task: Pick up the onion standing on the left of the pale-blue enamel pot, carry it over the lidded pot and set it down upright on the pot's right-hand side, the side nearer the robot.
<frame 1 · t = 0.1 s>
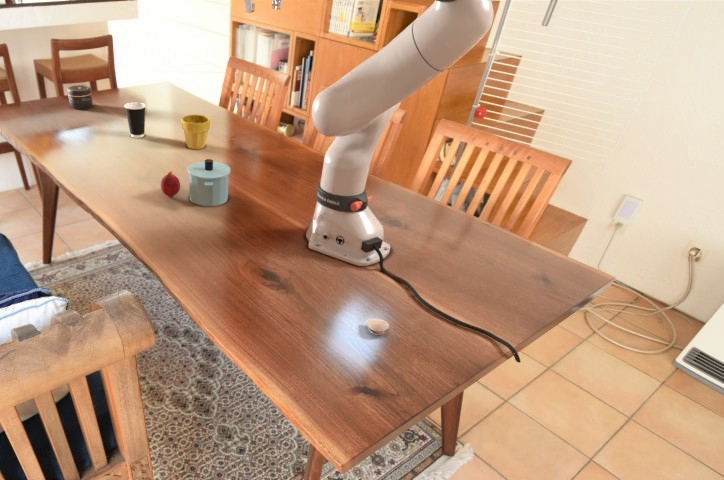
hand: (263, 10, 117), 48 cm above the table, tool pointing down, fingers open, 8 cm apart
flower pot: (196, 146, 182), on the table
macaroon: (374, 330, 102), on the table
pot: (208, 197, 149), on the table
pot lid: (208, 170, 143), point 8 cm above the table, touching pot
dixie cup: (137, 136, 189), on the table
onion: (171, 197, 148), on the table
jar: (81, 107, 215), on the table
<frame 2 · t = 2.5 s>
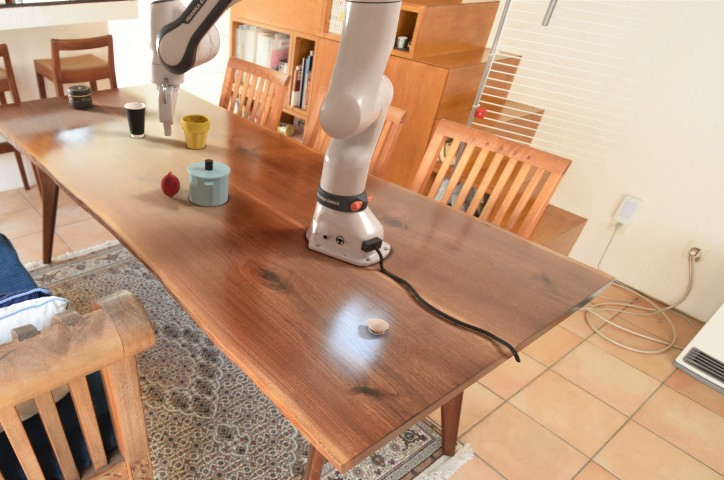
hand: (169, 129, 135), 20 cm above the table, tool pointing down, fingers open, 8 cm apart
nothing on the table moved.
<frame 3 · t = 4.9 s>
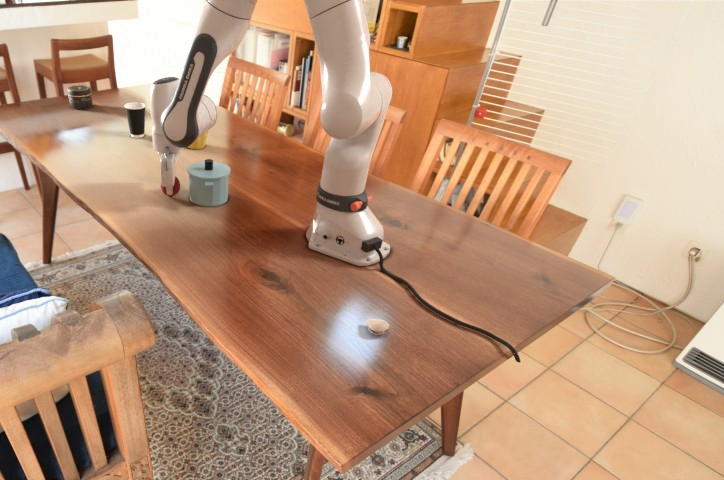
hand: (170, 188, 146), 3 cm above the table, tool pointing down, fingers closed on onion, 6 cm apart
onion: (171, 198, 148), on the table, touching gripper
everything else where it was.
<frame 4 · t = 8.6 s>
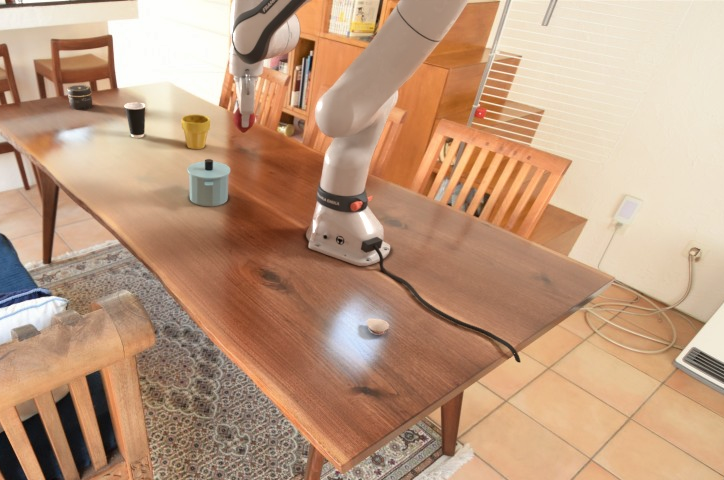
hand: (244, 122, 134), 22 cm above the table, tool pointing down, fingers closed on onion, 6 cm apart
onion: (243, 133, 136), point 19 cm above the table, touching gripper
everything else where it was.
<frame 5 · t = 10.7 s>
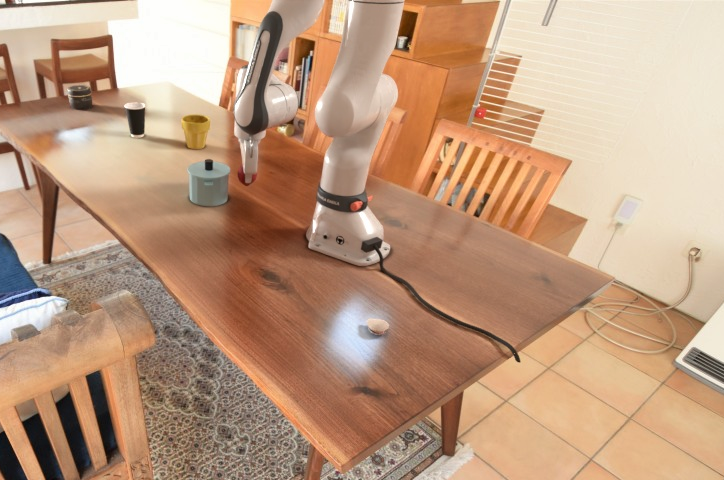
hand: (247, 177, 145), 7 cm above the table, tool pointing down, fingers closed on onion, 6 cm apart
onion: (246, 186, 146), point 4 cm above the table, touching gripper
everything else where it was.
when the fingers open (2 cm above the table, at t = 12.4 s): onion stays where it is, on the table.
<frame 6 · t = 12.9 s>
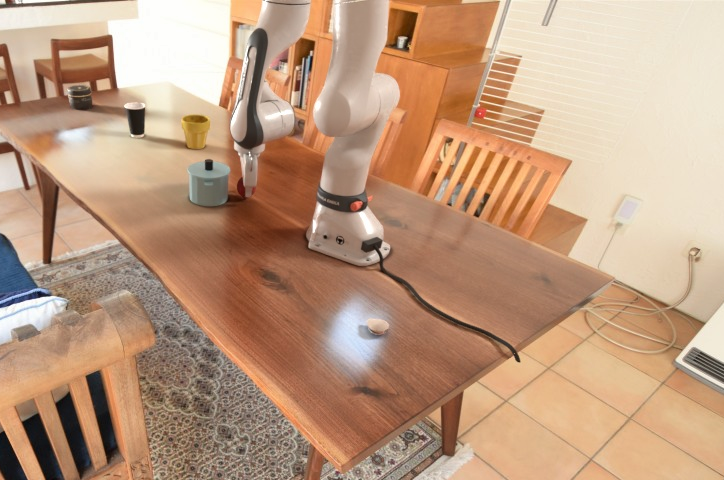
hand: (247, 189, 147), 3 cm above the table, tool pointing down, fingers open, 8 cm apart
onion: (245, 199, 149), on the table
everything else where it was.
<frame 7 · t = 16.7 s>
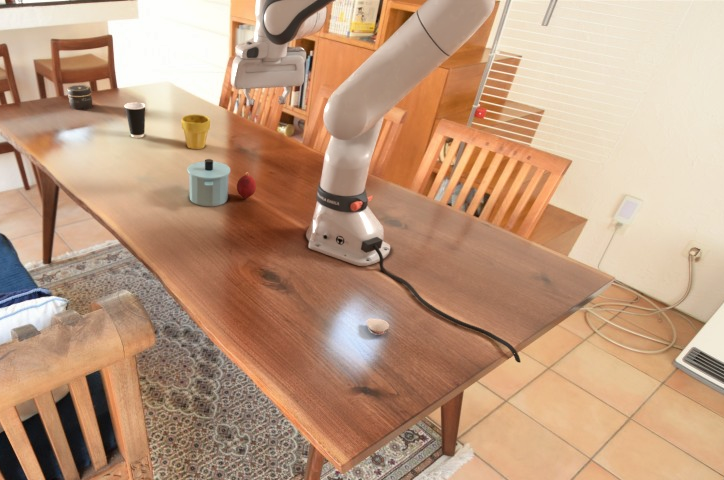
hand: (266, 104, 136), 26 cm above the table, tool pointing down, fingers open, 8 cm apart
nothing on the table moved.
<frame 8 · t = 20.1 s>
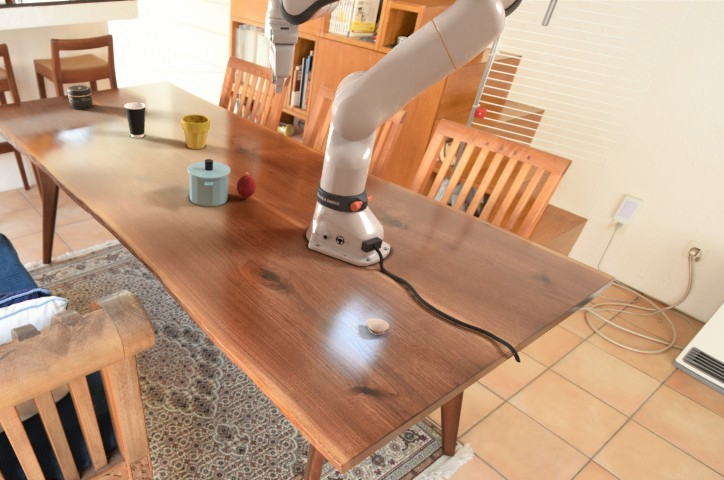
hand: (276, 88, 136), 29 cm above the table, tool pointing down, fingers open, 8 cm apart
nothing on the table moved.
at the end: onion inside the target area on the table beside the pot (0.6 cm from its centre), on the table; onion tilted 0°; the gripper is holding nothing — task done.
